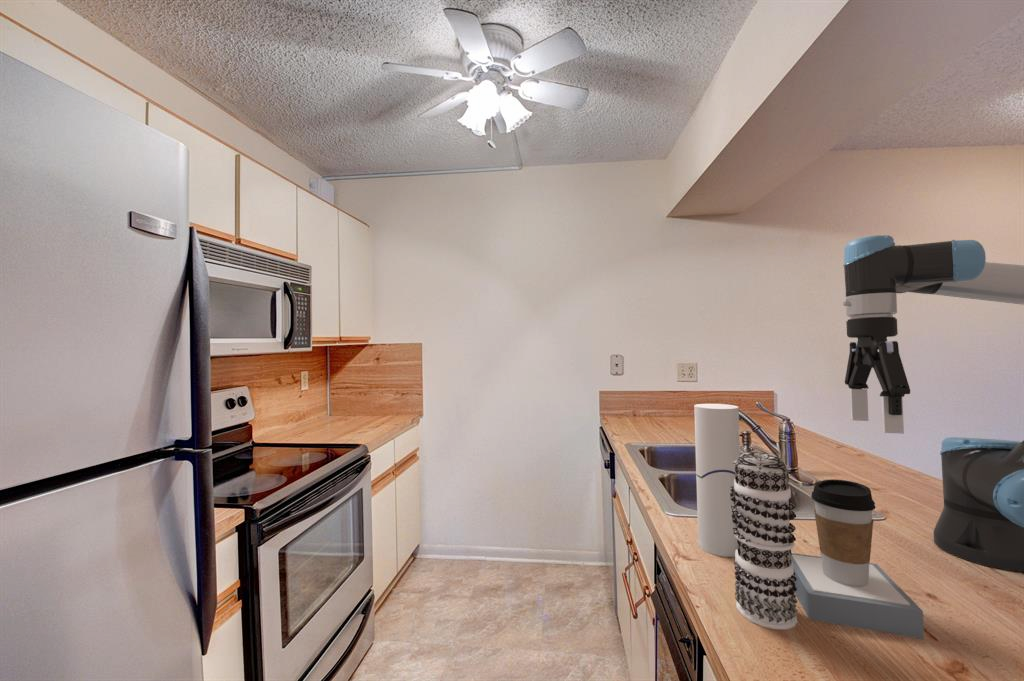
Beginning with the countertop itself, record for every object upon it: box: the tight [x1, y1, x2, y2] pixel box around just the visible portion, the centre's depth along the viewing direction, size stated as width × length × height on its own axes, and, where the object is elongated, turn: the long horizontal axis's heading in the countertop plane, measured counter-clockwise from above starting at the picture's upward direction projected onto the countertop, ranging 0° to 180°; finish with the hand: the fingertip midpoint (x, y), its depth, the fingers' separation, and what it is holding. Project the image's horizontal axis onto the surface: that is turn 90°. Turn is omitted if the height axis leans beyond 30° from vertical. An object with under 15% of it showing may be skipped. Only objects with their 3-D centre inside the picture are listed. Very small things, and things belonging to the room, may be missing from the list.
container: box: [693, 403, 741, 558], centre depth 89 cm, size 9×9×30 cm
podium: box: [791, 552, 925, 640], centre depth 69 cm, size 14×14×4 cm
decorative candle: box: [730, 451, 799, 630], centre depth 67 cm, size 9×9×25 cm
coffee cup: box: [811, 478, 876, 587], centre depth 69 cm, size 8×8×15 cm
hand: (875, 426), depth 81 cm, fingers open, 13 cm apart
